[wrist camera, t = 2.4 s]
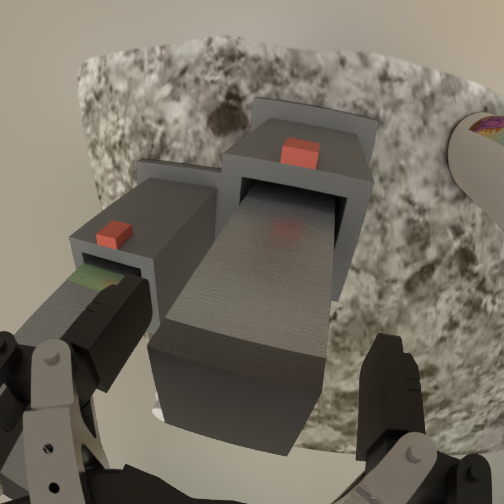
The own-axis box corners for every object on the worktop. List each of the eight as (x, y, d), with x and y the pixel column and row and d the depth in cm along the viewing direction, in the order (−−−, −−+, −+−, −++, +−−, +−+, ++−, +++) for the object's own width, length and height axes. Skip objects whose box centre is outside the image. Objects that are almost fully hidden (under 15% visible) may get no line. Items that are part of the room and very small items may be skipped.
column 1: (172, 230, 25) (-18, 481, 7) (174, 272, 27) (23, 505, 9) (129, 221, 25) (-63, 432, 7) (133, 262, 28) (-24, 465, 10)
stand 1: (237, 171, 29) (174, 242, 18) (230, 263, 34) (181, 355, 23) (141, 158, 30) (51, 214, 19) (146, 243, 36) (78, 318, 25)
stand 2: (376, 119, 23) (412, 159, 13) (351, 226, 29) (355, 326, 18) (256, 96, 25) (194, 119, 14) (245, 203, 30) (191, 288, 19)
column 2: (335, 148, 24) (322, 392, 6) (326, 193, 27) (287, 456, 9) (285, 138, 25) (145, 345, 7) (279, 184, 27) (164, 422, 9)
